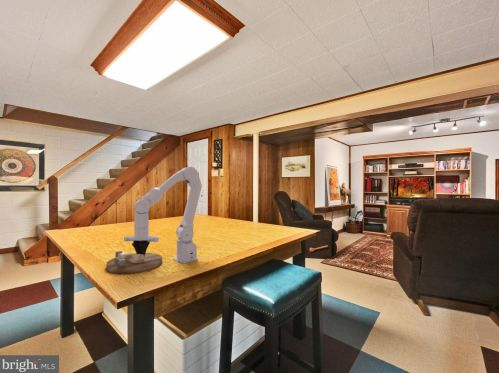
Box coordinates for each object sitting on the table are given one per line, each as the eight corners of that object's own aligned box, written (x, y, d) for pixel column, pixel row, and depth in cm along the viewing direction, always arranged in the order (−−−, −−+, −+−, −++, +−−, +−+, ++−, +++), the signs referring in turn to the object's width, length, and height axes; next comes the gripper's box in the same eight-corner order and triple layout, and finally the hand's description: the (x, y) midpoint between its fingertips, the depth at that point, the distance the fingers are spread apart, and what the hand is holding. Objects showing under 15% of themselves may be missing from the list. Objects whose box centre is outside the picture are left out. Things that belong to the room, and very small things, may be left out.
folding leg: (113, 260, 102) (114, 252, 102) (118, 258, 104) (118, 250, 104) (139, 263, 98) (140, 255, 98) (144, 261, 101) (144, 253, 101)
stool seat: (171, 264, 105) (171, 252, 105) (118, 278, 88) (119, 265, 88) (147, 254, 119) (147, 244, 119) (98, 265, 102) (98, 253, 102)
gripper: (161, 225, 107) (161, 255, 107) (130, 225, 107) (129, 254, 108) (154, 228, 100) (154, 260, 100) (121, 227, 100) (120, 259, 100)
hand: (141, 257), depth 103 cm, fingers closed
